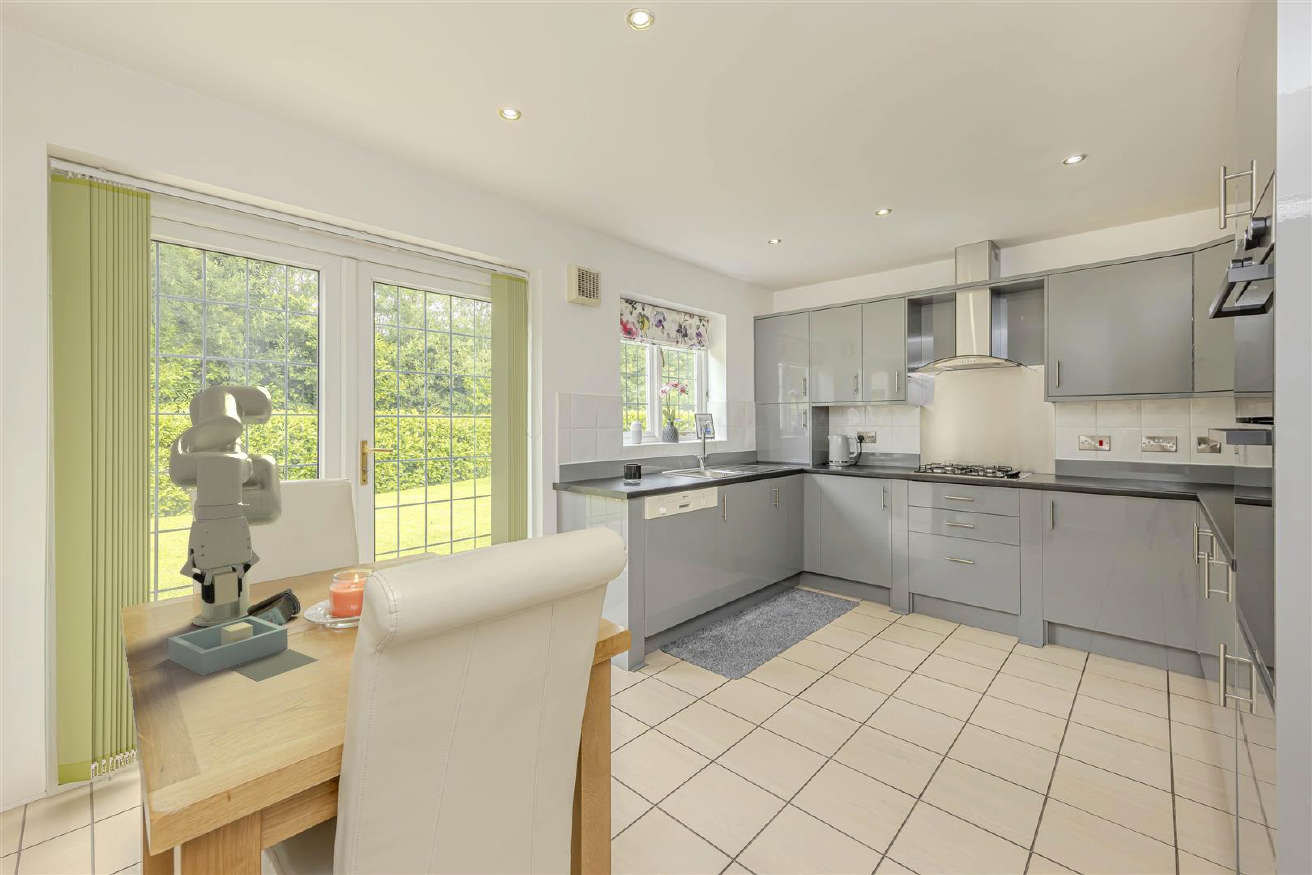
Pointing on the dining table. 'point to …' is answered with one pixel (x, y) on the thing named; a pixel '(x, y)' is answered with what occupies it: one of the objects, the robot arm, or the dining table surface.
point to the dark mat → (273, 664)
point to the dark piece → (276, 608)
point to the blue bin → (225, 646)
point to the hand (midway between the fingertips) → (222, 598)
